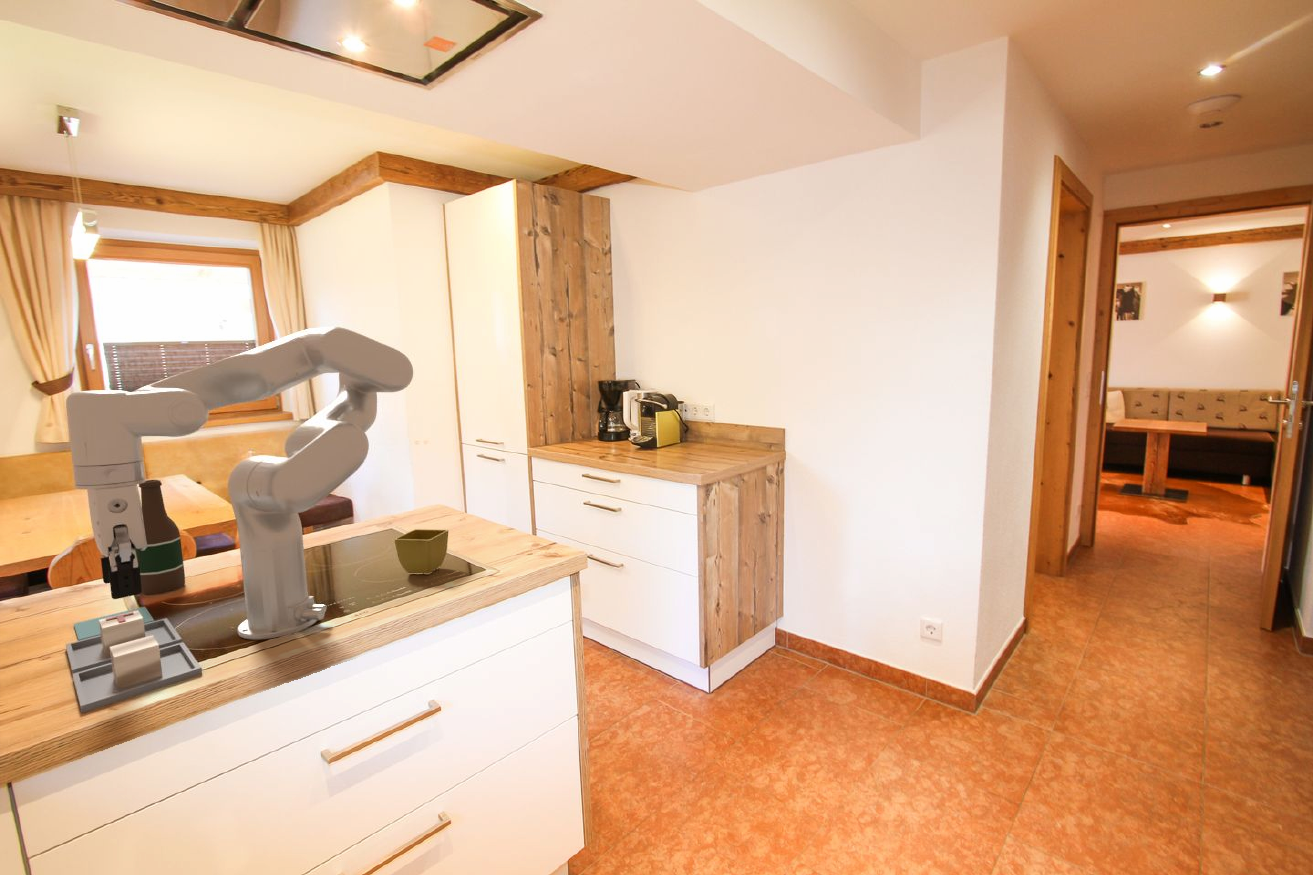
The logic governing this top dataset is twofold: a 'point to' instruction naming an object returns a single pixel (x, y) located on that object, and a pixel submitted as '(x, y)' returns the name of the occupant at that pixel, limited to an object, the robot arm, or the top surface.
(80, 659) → the dish far
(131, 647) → the plain cube
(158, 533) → the beer bottle
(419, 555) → the flower pot
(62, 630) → the top surface
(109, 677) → the dish near
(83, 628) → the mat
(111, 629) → the letter cube
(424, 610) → the top surface
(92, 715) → the top surface
